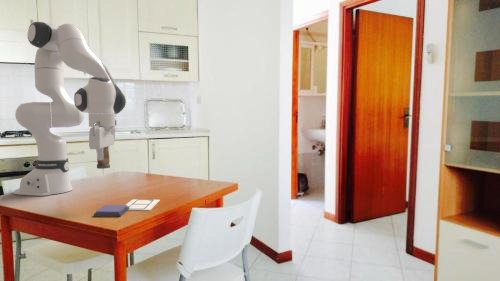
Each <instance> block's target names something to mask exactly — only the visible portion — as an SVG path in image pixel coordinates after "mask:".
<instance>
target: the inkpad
mask: <svg viewBox="0 0 500 281" xmlns="http://www.w3.org/2000/svg"><path fill="white" fill-rule="evenodd" d="M128 209H129V206H127V205H126V204H125V205H124V204H105V205H103V206H101V208H99V209H97V210H96V211H95V212H94V213H93V217H98V218H99V217H103V218H104V217H108V218H109V217H116V218H117V217H118V218H119V217H122V216H124V214H125V213H127V211H129V210H128Z"/></svg>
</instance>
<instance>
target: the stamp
mask: <svg viewBox="0 0 500 281" xmlns="http://www.w3.org/2000/svg"><path fill="white" fill-rule="evenodd" d="M103 155H104V160H98V155H96V156H97V157H96V158H97V160H96V161H97V164H96V169H101V170H102V169H103V170H104V169H109V168H110V167H111V164H110V150H109V151H108V146H107V147H104V148H103Z"/></svg>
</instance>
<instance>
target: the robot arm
mask: <svg viewBox="0 0 500 281" xmlns="http://www.w3.org/2000/svg"><path fill="white" fill-rule="evenodd" d="M27 39H28V42H29V43H30V45H31V46H33V47H36V48H37V50H36V53H35V58H34V83H35V84H34V86H35V89H36V90H37V91H38V92H39V93H40V94H43V95H45V96H46V97H48V98H50V99H52V101H51V102H49V101H48V102H46V101H39V102H38V101H32V102H26V103H24V102H23V103H21V104H19V105H18V106H17V108H16V109H15V120H16V121H17V123H18V124H19V125H20V126H22V128H25V129H26V130H27V131H28V132H29V133H30V134H31V135H32V137H33V138H34V140H35V143H36V148H37V154H38V155H37V157H38V159H37V160H35V161H33V162H32V165H31V166H34V168H33V169H32V170H31V171H29V172H28V173H27V174H26V175H24V176H23V177H22V178H21V179H20V183H19V188H17V189H14V191H13V195H22V196H24V195H25V196H38V197H39V196H40V197H44V196H45V197H46V196H49V195H50V196H51V195H56V194H63V193H64V194H65V193H68V192H70V191H72V190H73V186H72V183H71V181H70V179H71V178H70V175H69V171H70V170H69V169H70V168H69V158H68V149H67V148H68V145H67V144H68V143H67V141H66V139H64V138H63V137H61V136H59V135H56V134H54V133H52V132H51V131H50V129H52V128H72V127H73V128H74V127H77V126H80V125H81V124H82V123H83V121H84V120H85V119H84V118H85V113H87V114H88V127H90V129H89V132H88V134H89V136H88V145H89V146H88V147H89V149H90V150H95V151H96V154H97V155H98V160H104V155H103V148H104V147H107V146H108V151H109V152H110V146H113V145H114V144H115V140H116V126H117V120H116V117H115V116H116V115H118V114H119V113H121V112H122V111H124V109H125V107H126V103H127V102H126V96H125V94H124V93H123V91H122V90H121V89H120V88H119V87H118V85H117V83H116V82H115V80H114V78H113V77H112V75H111V73H110V71H109V70H108V68H107V67H106V65H105V63H104V62H103V61H102V60H101V59H100V58H99V57H97V56H96V55H95V54H94V52H93V51H92V50H91V49H90V48H89V46H88V42H87V41H86V38H85V37H84V35H83V33H82V31H81V30H80V29H79V28H78V27H77V26H76V25H74V24H71V23H64V24H61V25H56V24H49V23H46V22H44V21H34V22H32V23H31V24H30V25H29V26H28V29H27ZM63 64H64V65H66V66H67V67H68V68H70V69H72V70H75V71H78V72H82V73H84V74H85V73H86V74H88V75H90V76H92V77H90V78H89V79H88V82H87V84H86V85H85V86H83V87H80V88H78V89H77V90H76V92H75V93H74V99H72V98H71V97H70V95H69V94H68V92H67V90H66V86H65V78H64V75H65V74H64V65H63ZM97 155H96V156H97Z"/></svg>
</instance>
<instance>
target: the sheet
mask: <svg viewBox="0 0 500 281" xmlns="http://www.w3.org/2000/svg"><path fill="white" fill-rule="evenodd" d="M160 201H161V199H141V198H140V199H136V198H135V199H131V200H130V201H129V202H127V203H126V204H125V205H127V206H129V209H128V211H151V210H152V209H153V208H154V207H155V206H156V205H157V204H158V203H159V202H160Z"/></svg>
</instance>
